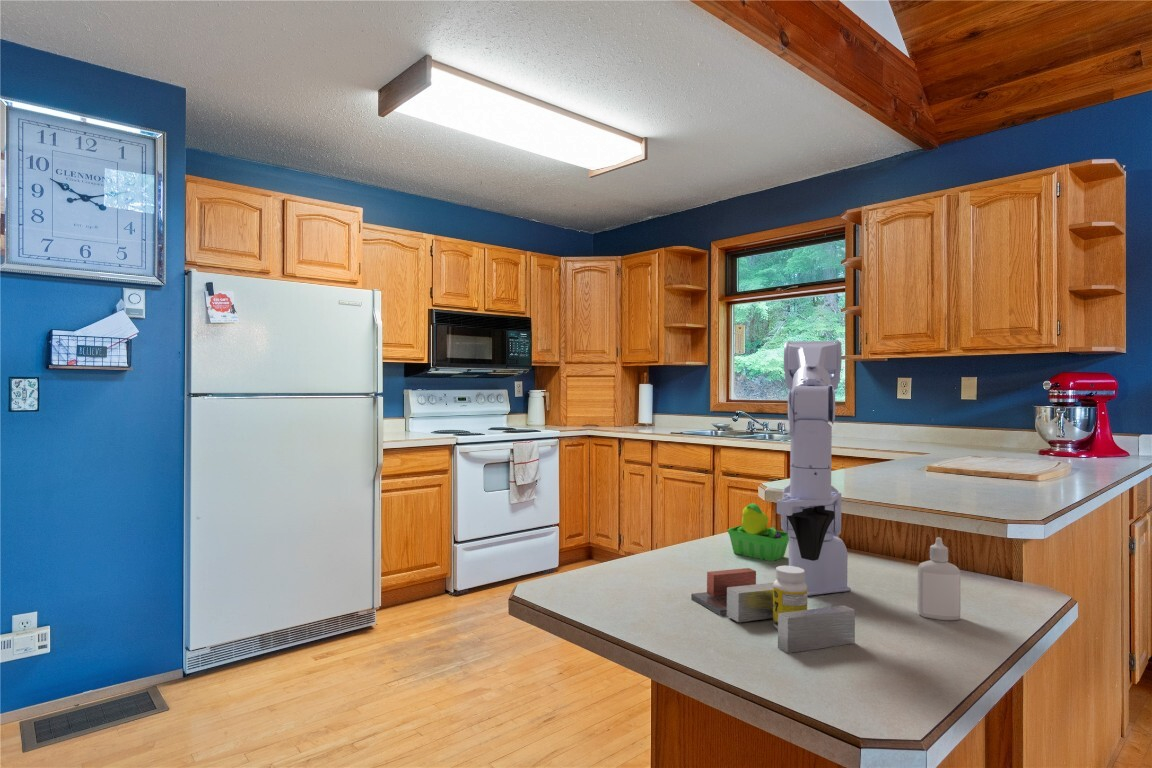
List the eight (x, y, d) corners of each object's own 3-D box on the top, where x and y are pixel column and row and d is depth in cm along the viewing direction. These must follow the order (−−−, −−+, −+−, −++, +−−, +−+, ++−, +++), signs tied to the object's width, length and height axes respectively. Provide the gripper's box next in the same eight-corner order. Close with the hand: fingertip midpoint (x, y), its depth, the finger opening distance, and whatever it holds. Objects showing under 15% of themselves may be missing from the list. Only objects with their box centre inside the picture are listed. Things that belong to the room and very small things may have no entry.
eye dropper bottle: (955, 624, 95) (956, 543, 95) (914, 615, 99) (914, 537, 99) (963, 617, 98) (963, 538, 98) (922, 609, 102) (923, 532, 102)
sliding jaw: (756, 593, 108) (756, 567, 108) (800, 614, 98) (800, 585, 98) (698, 599, 104) (699, 572, 104) (738, 622, 94) (738, 592, 94)
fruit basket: (792, 557, 134) (793, 502, 134) (772, 565, 128) (773, 508, 128) (743, 547, 142) (743, 496, 142) (722, 554, 135) (722, 500, 136)
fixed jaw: (843, 637, 89) (844, 605, 89) (854, 643, 87) (854, 609, 87) (777, 647, 85) (778, 613, 85) (787, 653, 83) (787, 618, 84)
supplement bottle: (772, 620, 96) (773, 563, 96) (806, 623, 94) (807, 566, 95) (772, 631, 91) (773, 571, 91) (808, 635, 90) (808, 574, 90)
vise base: (753, 591, 109) (753, 587, 109) (785, 607, 101) (785, 602, 101) (691, 598, 105) (691, 593, 105) (720, 615, 97) (720, 610, 97)
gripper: (812, 461, 103) (811, 546, 103) (758, 467, 94) (757, 560, 94) (854, 465, 98) (854, 555, 97) (802, 472, 88) (801, 571, 88)
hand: (809, 558), depth 95 cm, fingers closed
